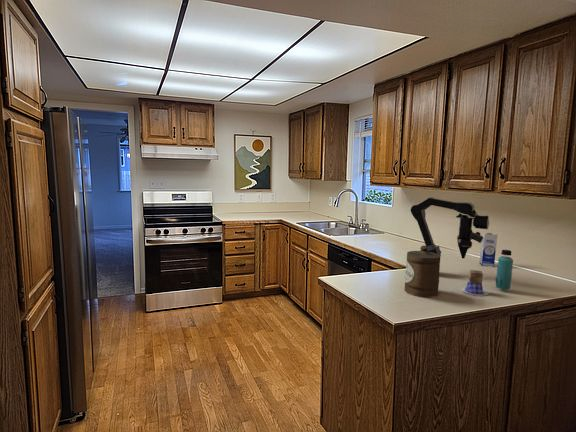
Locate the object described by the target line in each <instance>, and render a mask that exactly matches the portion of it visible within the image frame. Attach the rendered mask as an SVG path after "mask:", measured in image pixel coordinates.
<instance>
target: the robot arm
mask: <svg viewBox="0 0 576 432" xmlns="http://www.w3.org/2000/svg"><path fill="white" fill-rule="evenodd" d="M431 206H434V207H440V208H444V209H450V210H453V211H456V212H457V213H458V214H457V215H456V216H455V217H456V219H457V218H459V228H458V235H457V238H456V240H457V247H458V250H459V254H460V255H461V258H462V259H465V258H466V255H467V253H468V250H469V249H471V248H472V247H473V242H472V240H474V241H476V242H477V243H479V244H482V240H483V238H484V237H483V236H482V234H481V232H479V231H476V232H474V231H473V230H472V229H473V228H472V227H474V229H480V230H489V227H490V226H489V225H490V218H489V215H479V214H478V212H477V211H476V209H475V205H474V204H473V203H472V202H464V201H463V202H459V201H458V202H456V201H451V200H446V199H441V198H440V199H439V198H434V197H428V198H427V199H425V200H422V202H420V203H419V204H414V205H412V206H411V207H410V214H411V215H412V217H413V218H414V219H415V221H416V222H417V225H418V228H419V230H420V233H421V237H422V239H423V242H424V246H426V247H428V250H427V251H428V252H432V253H436V254H439V255H440V258H441V257H442V256H441V255H442V254H441V253H442V251H441V249H440V248H441V247H440V246H439V245H436V244H435V242H434V240H433V236H432V234H431V231H430V228H429V226H428V223H427V220H426V210H427V209H429V208H430V207H431Z"/></svg>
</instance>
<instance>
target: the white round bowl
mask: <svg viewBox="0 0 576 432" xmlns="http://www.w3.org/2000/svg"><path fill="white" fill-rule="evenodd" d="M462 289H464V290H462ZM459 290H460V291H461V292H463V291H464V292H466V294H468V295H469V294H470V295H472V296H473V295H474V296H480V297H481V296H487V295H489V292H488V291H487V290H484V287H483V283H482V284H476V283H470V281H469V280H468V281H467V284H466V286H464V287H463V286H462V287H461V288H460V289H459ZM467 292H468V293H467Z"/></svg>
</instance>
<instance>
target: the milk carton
mask: <svg viewBox="0 0 576 432" xmlns="http://www.w3.org/2000/svg"><path fill="white" fill-rule="evenodd" d="M481 236H483V237H484V238H483V240H482V241H481V243H480V244H481V246H480V255H479V265H480V266H481V267H488V266H492V267H491V268H495V260H496V251H497V242H498V234H493V233H492V232H487V233H483V234H481Z"/></svg>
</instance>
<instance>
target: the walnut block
mask: <svg viewBox="0 0 576 432" xmlns="http://www.w3.org/2000/svg"><path fill="white" fill-rule="evenodd" d="M483 275H484V273H483V271H482V270H475V269H470V270H469V278H468V282H469V281H470V283H476V284H482V285H483V279H484V278H483V277H484V276H483Z"/></svg>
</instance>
